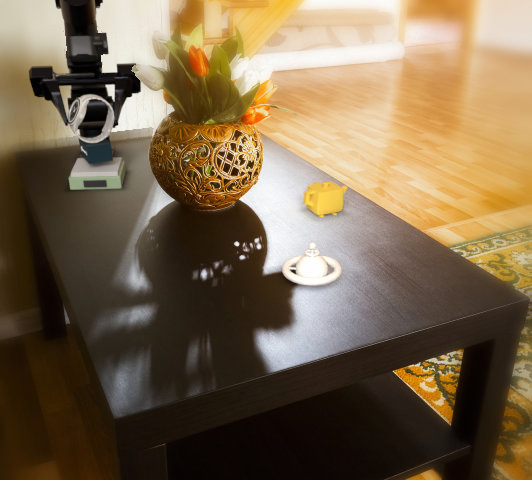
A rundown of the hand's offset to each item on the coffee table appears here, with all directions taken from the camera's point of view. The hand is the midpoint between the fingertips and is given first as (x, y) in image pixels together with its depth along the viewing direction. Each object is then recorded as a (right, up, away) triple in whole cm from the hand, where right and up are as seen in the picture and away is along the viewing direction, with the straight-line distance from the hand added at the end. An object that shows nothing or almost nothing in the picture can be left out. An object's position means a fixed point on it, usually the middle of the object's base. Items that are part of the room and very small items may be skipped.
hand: (91, 123), depth 110 cm
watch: (0, -5, +5) cm, 7 cm away
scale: (0, -9, +7) cm, 11 cm away
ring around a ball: (+37, -29, -25) cm, 53 cm away
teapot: (+40, -16, -4) cm, 43 cm away
